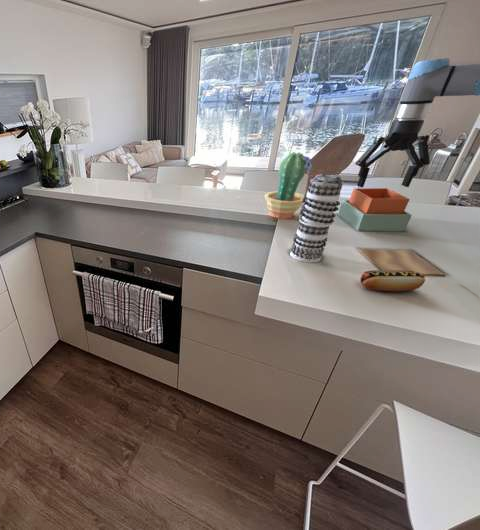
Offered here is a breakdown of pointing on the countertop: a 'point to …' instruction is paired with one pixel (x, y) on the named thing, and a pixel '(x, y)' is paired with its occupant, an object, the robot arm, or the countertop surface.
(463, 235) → the countertop surface
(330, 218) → the decorative candle
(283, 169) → the potted cactus
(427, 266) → the wooden square board
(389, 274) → the hot dog
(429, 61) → the robot arm
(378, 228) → the sage bin
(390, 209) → the terracotta bin
